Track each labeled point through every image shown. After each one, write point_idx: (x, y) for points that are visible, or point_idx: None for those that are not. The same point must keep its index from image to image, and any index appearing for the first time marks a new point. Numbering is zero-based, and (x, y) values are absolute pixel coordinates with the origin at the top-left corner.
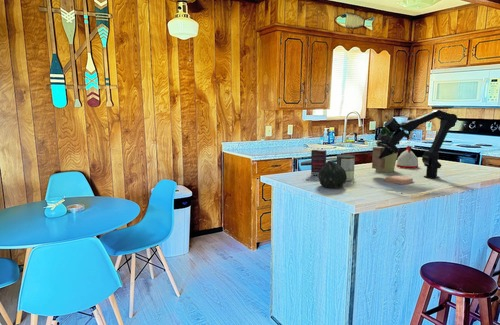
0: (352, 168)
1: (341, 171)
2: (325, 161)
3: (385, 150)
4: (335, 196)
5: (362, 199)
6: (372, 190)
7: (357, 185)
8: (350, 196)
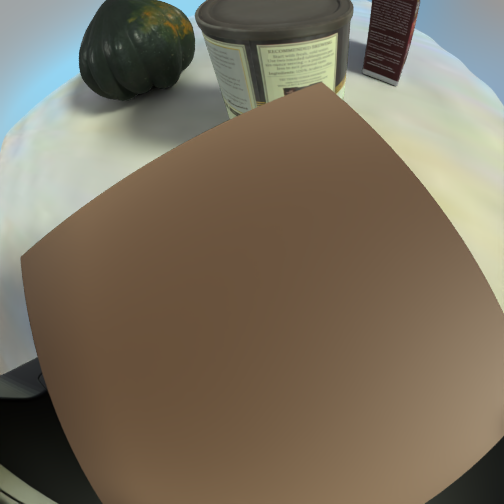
0: (226, 97)
1: (79, 55)
2: (390, 19)
3: (4, 375)
4: (60, 97)
5: (15, 152)
6: (50, 199)
7: (132, 158)
8: (41, 127)
